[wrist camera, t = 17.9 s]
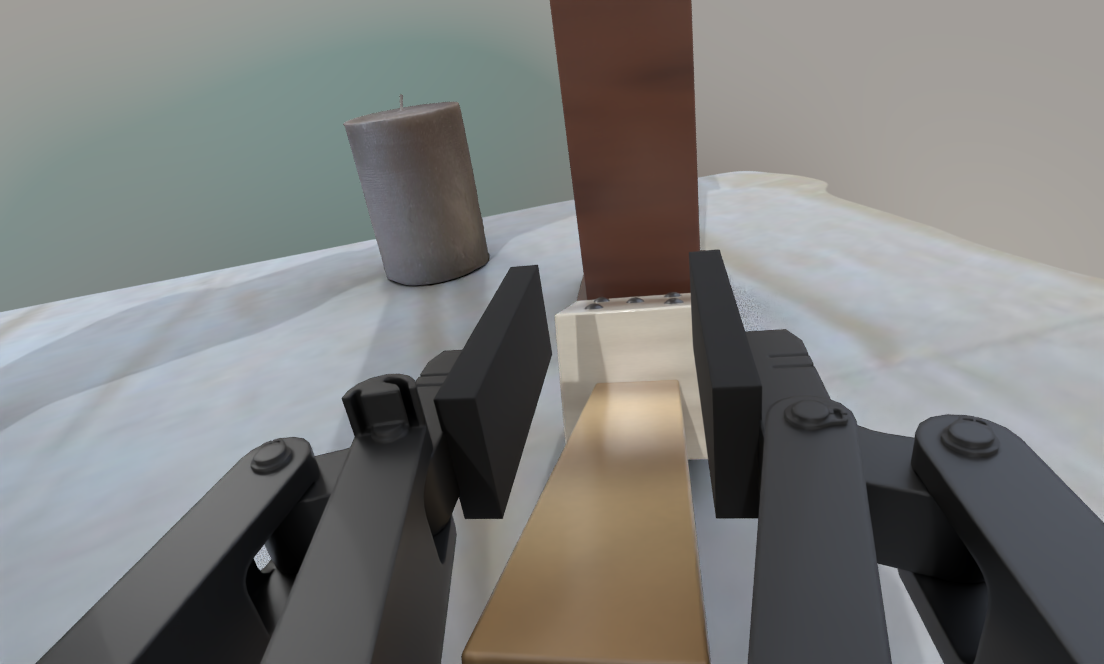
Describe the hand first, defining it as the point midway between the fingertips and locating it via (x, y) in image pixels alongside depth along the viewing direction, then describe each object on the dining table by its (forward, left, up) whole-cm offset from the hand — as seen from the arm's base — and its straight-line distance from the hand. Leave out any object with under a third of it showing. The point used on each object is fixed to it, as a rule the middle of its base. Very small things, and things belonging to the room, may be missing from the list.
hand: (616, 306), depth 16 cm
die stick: (0, 0, -7) cm, 7 cm away
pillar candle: (-36, +18, -11) cm, 42 cm away
